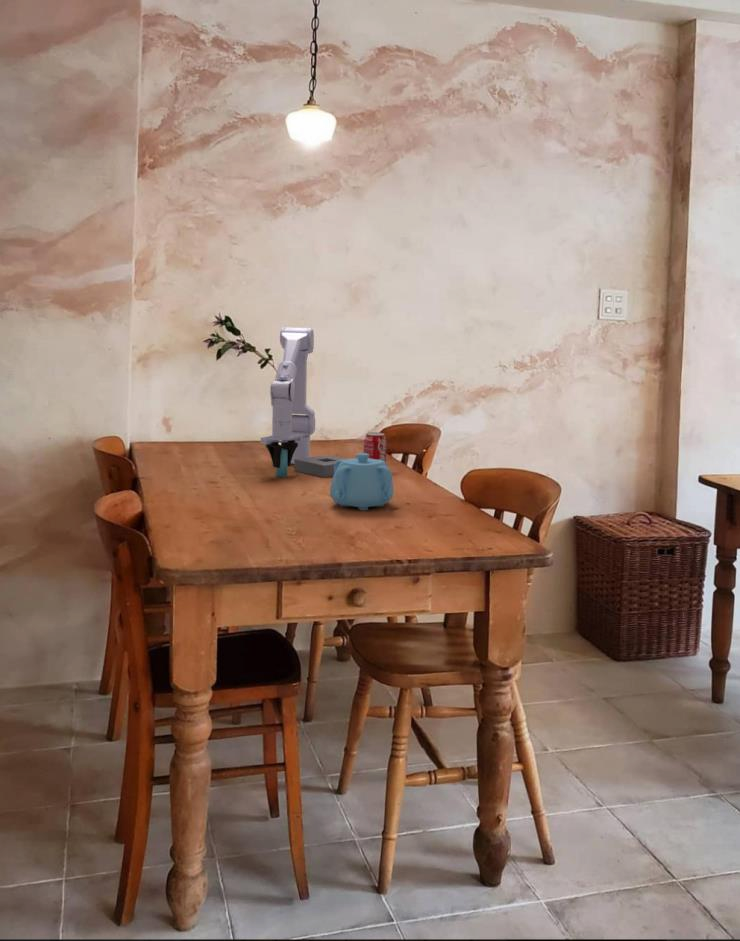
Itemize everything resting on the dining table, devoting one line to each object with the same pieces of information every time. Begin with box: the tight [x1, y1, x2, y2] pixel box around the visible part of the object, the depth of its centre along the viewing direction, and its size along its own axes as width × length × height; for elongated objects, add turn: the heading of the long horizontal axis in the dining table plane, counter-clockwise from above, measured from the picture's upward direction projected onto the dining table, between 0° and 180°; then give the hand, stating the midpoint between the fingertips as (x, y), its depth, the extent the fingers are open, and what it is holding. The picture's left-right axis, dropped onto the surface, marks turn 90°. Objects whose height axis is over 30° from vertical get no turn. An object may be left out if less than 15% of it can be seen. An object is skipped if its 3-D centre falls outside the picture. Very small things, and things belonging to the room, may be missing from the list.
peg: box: [275, 449, 288, 478], centre depth 276 cm, size 3×3×8 cm
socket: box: [293, 454, 348, 478], centre depth 286 cm, size 14×14×4 cm
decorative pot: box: [329, 452, 394, 511], centre depth 238 cm, size 16×16×14 cm
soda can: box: [362, 431, 387, 463], centre depth 287 cm, size 7×7×12 cm
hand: (281, 466), depth 276 cm, fingers closed on peg, 3 cm apart
